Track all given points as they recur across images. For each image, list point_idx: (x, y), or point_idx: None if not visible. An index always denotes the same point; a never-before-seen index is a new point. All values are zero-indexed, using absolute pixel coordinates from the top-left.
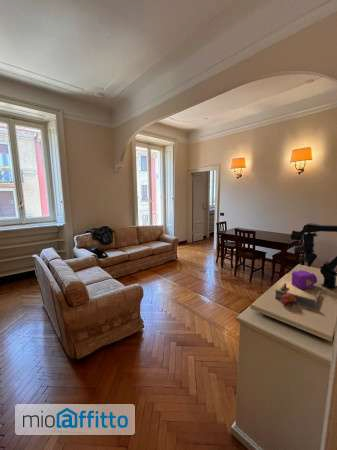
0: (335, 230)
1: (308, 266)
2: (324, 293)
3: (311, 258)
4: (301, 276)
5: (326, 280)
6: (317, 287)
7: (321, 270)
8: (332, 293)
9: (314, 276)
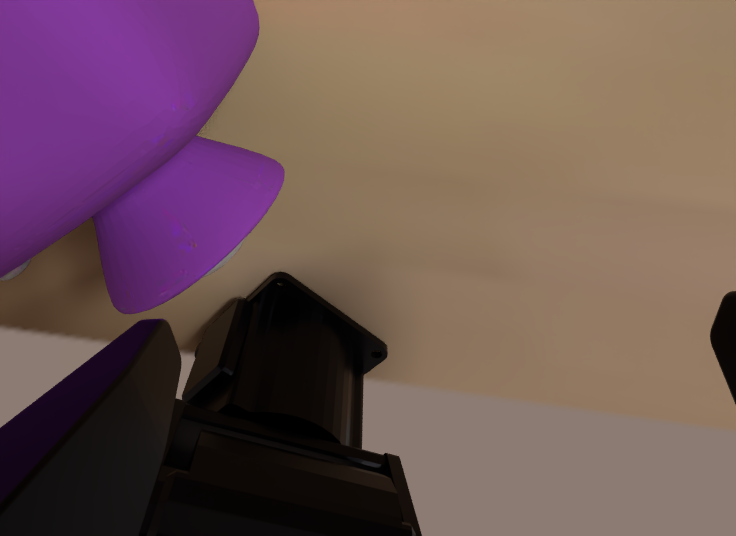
0: None
1: (144, 330)
2: None
3: None
4: None
5: (208, 391)
6: None
7: (159, 498)
8: (76, 338)
9: (111, 286)
